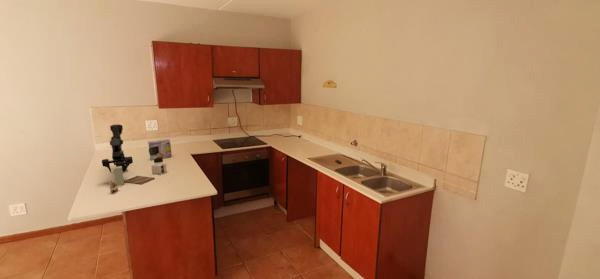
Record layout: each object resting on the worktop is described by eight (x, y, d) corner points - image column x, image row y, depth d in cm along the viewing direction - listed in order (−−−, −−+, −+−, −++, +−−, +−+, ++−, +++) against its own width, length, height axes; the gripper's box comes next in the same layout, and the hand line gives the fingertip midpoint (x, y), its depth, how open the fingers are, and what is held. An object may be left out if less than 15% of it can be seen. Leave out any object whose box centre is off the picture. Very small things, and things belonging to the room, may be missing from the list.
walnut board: (123, 182, 214) (123, 181, 214) (137, 176, 226) (137, 175, 226) (141, 184, 210) (141, 183, 210) (154, 178, 222) (154, 177, 222)
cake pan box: (150, 160, 268) (148, 142, 265) (148, 159, 272) (147, 141, 269) (172, 157, 280) (170, 139, 277) (170, 156, 284) (169, 138, 280)
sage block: (115, 184, 211) (113, 166, 208) (124, 183, 213) (121, 165, 210) (115, 186, 206) (113, 168, 204) (123, 185, 209) (121, 167, 206)
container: (167, 171, 238) (165, 156, 236) (160, 174, 231) (158, 158, 228) (159, 171, 240) (157, 155, 238) (152, 173, 233) (150, 158, 230)
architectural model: (120, 190, 201) (119, 180, 199) (115, 194, 194) (113, 183, 192) (115, 190, 200) (113, 180, 199) (109, 194, 193) (108, 183, 192)
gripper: (100, 148, 206) (100, 167, 199) (130, 145, 215) (132, 164, 208) (102, 156, 214) (103, 175, 207) (132, 153, 223) (133, 171, 216)
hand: (118, 171), depth 209 cm, fingers open, 9 cm apart
